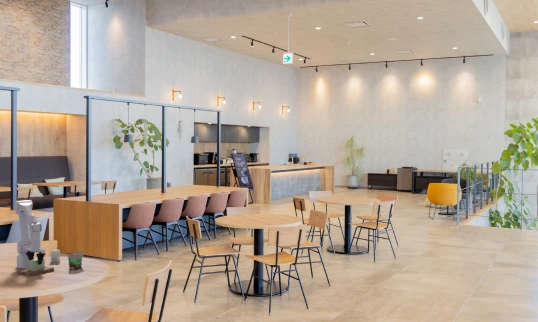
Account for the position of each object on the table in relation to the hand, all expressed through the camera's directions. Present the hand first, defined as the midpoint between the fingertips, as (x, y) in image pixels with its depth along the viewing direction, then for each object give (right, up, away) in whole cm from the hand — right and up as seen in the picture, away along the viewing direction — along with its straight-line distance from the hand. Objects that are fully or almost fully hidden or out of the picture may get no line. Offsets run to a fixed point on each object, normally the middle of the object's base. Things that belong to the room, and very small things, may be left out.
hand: (35, 263), depth 332 cm
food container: (+23, -5, +10) cm, 25 cm away
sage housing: (0, -3, 0) cm, 3 cm away
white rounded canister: (0, -5, +30) cm, 30 cm away
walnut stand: (0, -5, 0) cm, 5 cm away
